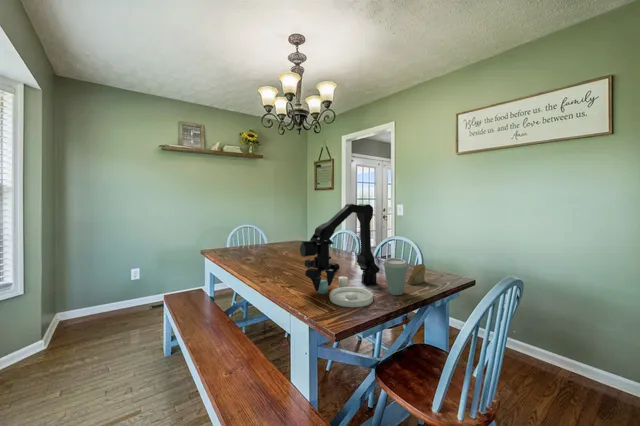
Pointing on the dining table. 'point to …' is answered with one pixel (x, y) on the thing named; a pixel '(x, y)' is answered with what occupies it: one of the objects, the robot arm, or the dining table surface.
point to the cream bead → (343, 282)
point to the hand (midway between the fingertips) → (323, 288)
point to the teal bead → (323, 287)
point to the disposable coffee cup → (395, 275)
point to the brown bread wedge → (417, 275)
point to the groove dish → (351, 297)
